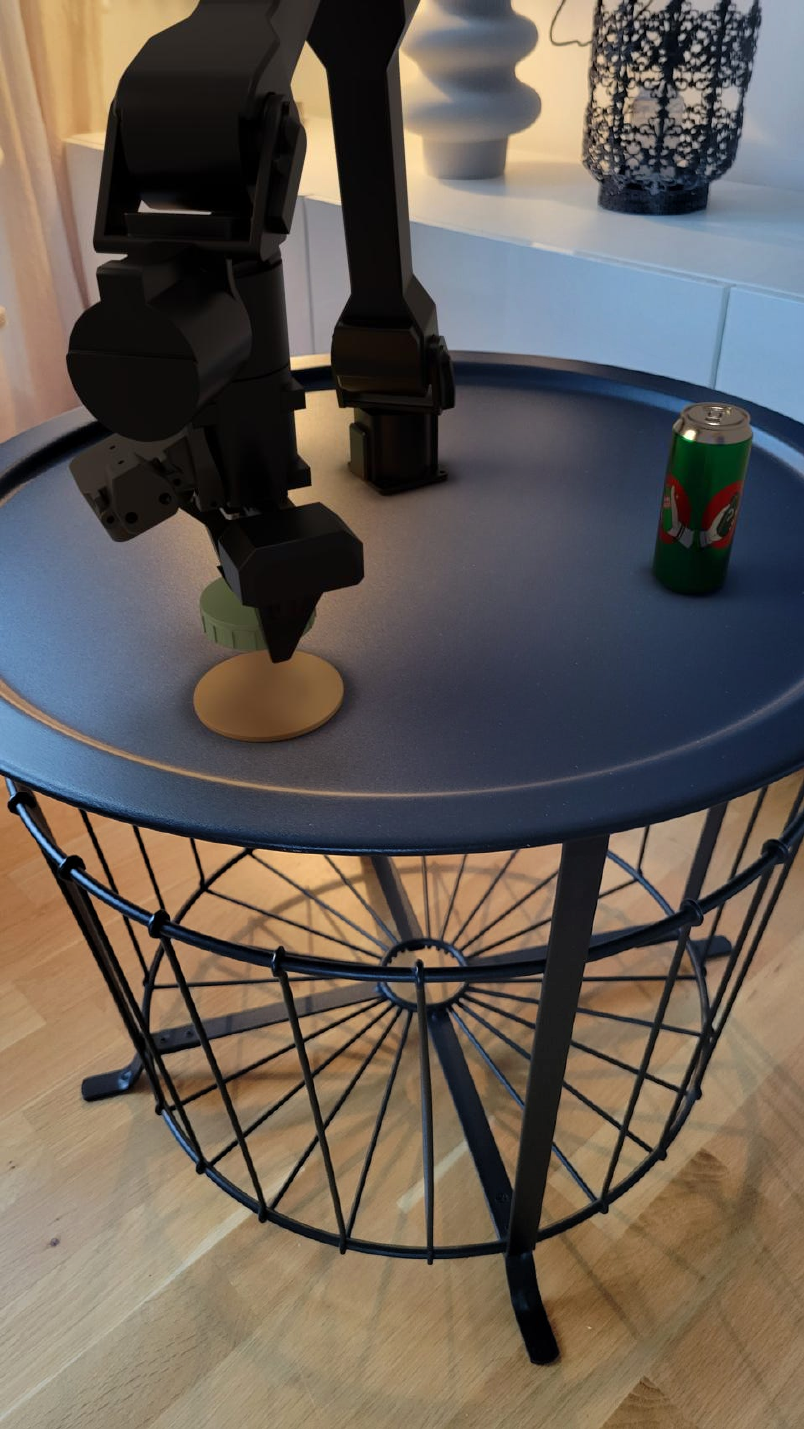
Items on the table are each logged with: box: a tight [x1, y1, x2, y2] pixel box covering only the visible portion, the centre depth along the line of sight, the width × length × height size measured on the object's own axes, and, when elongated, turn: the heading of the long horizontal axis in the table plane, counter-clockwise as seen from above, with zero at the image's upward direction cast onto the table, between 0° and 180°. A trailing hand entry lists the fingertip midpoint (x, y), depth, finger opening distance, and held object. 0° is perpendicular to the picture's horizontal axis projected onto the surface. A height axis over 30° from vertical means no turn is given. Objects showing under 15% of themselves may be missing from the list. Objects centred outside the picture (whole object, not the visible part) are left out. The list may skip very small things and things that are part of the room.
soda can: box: [651, 401, 754, 595], centre depth 70 cm, size 5×5×12 cm
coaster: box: [193, 650, 345, 743], centre depth 64 cm, size 9×9×1 cm
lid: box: [198, 576, 318, 652], centre depth 60 cm, size 6×6×2 cm
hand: (262, 631), depth 61 cm, fingers closed on lid, 6 cm apart
